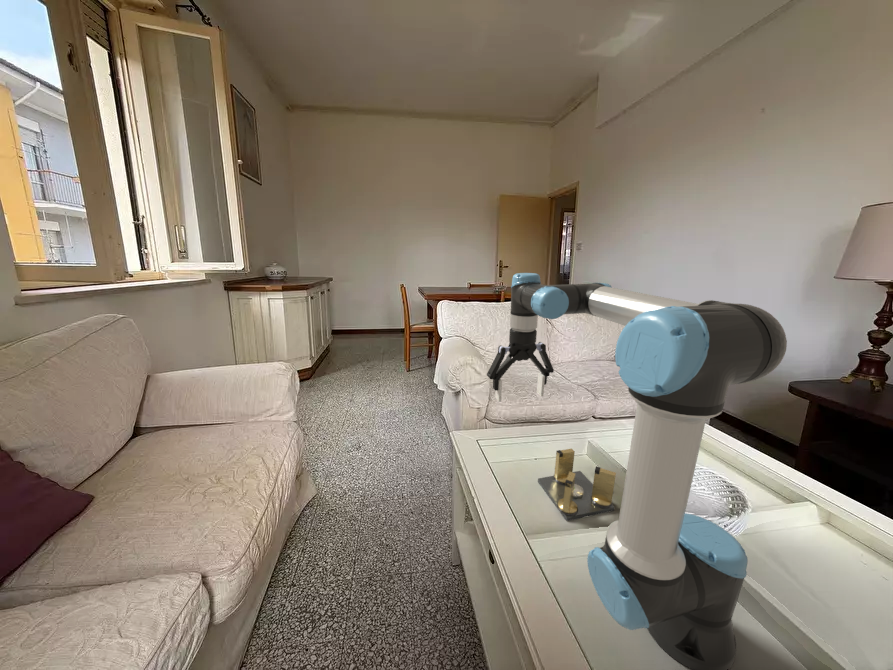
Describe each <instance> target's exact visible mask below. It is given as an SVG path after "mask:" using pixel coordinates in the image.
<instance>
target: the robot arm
mask: <svg viewBox="0 0 893 670" xmlns="http://www.w3.org/2000/svg"><path fill="white" fill-rule="evenodd" d="M510 289H511V290H510V292H511V295H510V316H509V317H510V319H509V320H510V321H509V327H510V329H509V334H508V335H509V338H508V339H509V344H508V346H503V345H502V344H501V345H500V344H499V346H498V347H497V353H496V355H495V358H494V359H493V362H492V363H491V365H490V367H489V369H488V371H487V373H486V376H487V377H488V379H490V380H492V389H493V390H494V391H495V397H494V398H495V400H497V402H502V390H503V380H502V379H501V378H502V377H503V376H504V374H506V372H507V371H508V369H510V367H511V366H512V365H513V364H515V362H521V361H528V360H529V359H530V361H531V362H532V363H533V364H534V366H535V367H536V368H537V370H539V372H538V373H537V384H536V393H537V394H538V395H539V396H540V397H544V393H545V392H544V391H545V386H546V385H547V382H548V377H550V375H551V374H553V373H554V372H555V369H554V368H553V365H552V363H551V360H550V357H549V355H548V352H547V350H546V349H547V346H546V344H545V343H543V342H542V341H539V342H537V336H538V335H537V328H538V317H541V318H542V319H549V320H557V319H559V318H560V317H562V316H564V315H575V314H587V315H591V316H594V317H597V318H600V319H603V320H606V321H610V322H612V323H615V324H618V325H621V326H623V328H622V331H620V333H619V336H618V339H617V342H616V346H615V350H614V351H615V354H614V355H615V358H614V359H615V365H616V367H619V371H618V374H619V377H620V378H621V380H622V381H623V383H624V384H625V386H627V389H628V390H627V391H628V392H627V393H628V394H629V396H630V397H631V398H632V399H633V400H634V401H635V403H636V410H635V415H634V416H635V417H634V422H633V428H632V435H631V441H630V445H629V446H630V448H629V455H628V458H627V459H628V460H627V467H626V471H625V472H626V473H625V477H624V478H625V479H624V483H623V490H622V497H621V503H620V504H621V505H620V510H619V515H618V516H619V517H618V519H616V520H614V521H612V522H611V523H609V526H608V527H607V529H606V532H605V533H606V534H605V541H604V545H603V546H601V547H599V546H596V547H594V548H593V549H590V551H589V552H588V553H587V558H586V559H587V568H588V569H587V570H588V573H589V576H590V578H591V582H592V584H593V587H594V589H595V591H596V595H597V596H598V598H599V599H600V602H601V603H602V605H603V606H604V608H605V610H606V611H607V612H608V613H609V615H610V616H611V617H612V618H613V620H614V621H615V622H616V623H617V624H618V625H619V626H621V627H623V628H625V629H627V630H629V631H635V630H639V629H646V630H647V631H648V633H649V634H650V636H651V637H652V639H653V640H654V641H655V643H656V644H657V645H658V646H660V648H662V650H663V651H664V652H665V653H667V654H668V655H669V656H670V657H671V658H673V659H674V660H676V661H677V662H679V663H680V664H681V665H684V666H685V667H687V668H689V669H692V670H727V669H728V670H729V669H731V667H732V665H733V663H734V661H735V658H736V654H737V640H736V635H735V633H734V628H733V627H734V626H733V621H732V619H733V615H734V612H735V608H736V605H737V603H738V600H739V596H740V593H741V591H742V590H741V589H742V587H743V584H744V580H745V578H746V577H747V573H748V572H747V567H748V556H747V554H746V551H745V549H744V547H743V545H741V543H740V542H739V541H738V540H737V539H736V538H735V537H734V536H733V535H732V534H731V533H730V532H728V531H727V530H726V529H724V528H723V527H721V526H719V525H718V524H716V523H715V522H713V521H711V520H708V519H706V518H704V517H701V516H700V515H696V514H692V513H687V512H686V511H687V510H686V509H687V506H688V501H689V496H690V492H691V489H692V488H691V487H692V483H693V479H694V475H695V470H696V465H697V461H698V457H699V453H700V448H701V444H702V443H701V442H702V438H703V435H704V434H703V433H704V430H705V426H706V422H707V421H706V420H709V419H713V418H715V417H717V416H719V415H722V413H723V411H724V406H725V403H726V399H727V393H728V389H729V387H730V386H731V385H737V384H738V385H740V384H745V383H749V382H754V381H757V380H759V379H762V378H763V377H766V376H767V375H769V374H770V373H772V372H773V371H774V370H776V369H777V368H778V366H779V365H780V364H781V363H782V361H783V359H784V357H785V354H786V351H787V346H788V345H787V344H788V339H787V336H786V332H785V330H784V327H783V326H782V324H781V323H780V321H779V320H778V319H777V318H776V317H775V316H774V315H773V314H771V313H770V312H768V311H767V310H765V309H763V308H761V307H757V306H754V305H753V304H752V305H751V304H746V303H734V302H733V303H731V302H725V301H719V300H713V299H712V300H711V299H707V300H704V301H701V302H699V303H695V302H689V301H685V300H679V299H675V298H674V299H673V298H669V297H664V296H663V297H662V296H658V295H653V294H647V293H643V292H637V291H632V290H627V289H622V288H621V289H620V288H616V287H612V285H611V284H609V283H606V282H605V283H604V282H591V283H575V284H574V283H570V284H543V283H541V276H540V274H538V273H533V272H519V273H517V272H516V273H515V274H513V276H512V278H511V286H510ZM536 350H537V351H538V353H539V356H540V358H541V360H542V363H543V365H542V363H541V362H540V360H539V359H538V358H537V356H536V355H535V354H534V353H535V352H536ZM505 355H506V358H505Z"/></svg>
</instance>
